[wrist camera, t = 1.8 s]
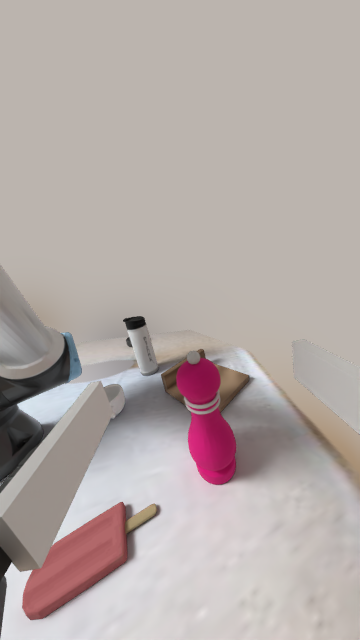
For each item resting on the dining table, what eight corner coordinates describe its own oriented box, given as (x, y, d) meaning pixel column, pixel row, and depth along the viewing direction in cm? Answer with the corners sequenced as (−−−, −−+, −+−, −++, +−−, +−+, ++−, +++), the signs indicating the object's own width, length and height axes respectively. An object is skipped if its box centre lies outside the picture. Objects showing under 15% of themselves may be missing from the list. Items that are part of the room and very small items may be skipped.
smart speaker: (147, 342, 87) (145, 335, 86) (131, 349, 82) (128, 341, 81) (140, 339, 94) (138, 332, 93) (125, 345, 89) (123, 338, 88)
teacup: (96, 410, 44) (89, 393, 43) (124, 395, 48) (119, 380, 46) (99, 437, 36) (90, 418, 34) (133, 417, 39) (126, 399, 38)
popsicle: (159, 530, 20) (8, 635, 16) (162, 538, 20) (16, 642, 16) (151, 482, 25) (34, 552, 20) (153, 489, 25) (40, 559, 21)
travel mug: (141, 368, 61) (125, 317, 56) (158, 364, 61) (144, 312, 56) (139, 378, 55) (120, 321, 50) (158, 373, 55) (142, 316, 50)
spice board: (165, 391, 46) (160, 374, 44) (203, 363, 55) (200, 348, 54) (210, 423, 34) (206, 401, 32) (249, 380, 43) (247, 361, 42)
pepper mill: (213, 503, 22) (183, 375, 17) (185, 457, 28) (156, 354, 23) (249, 465, 25) (233, 348, 20) (217, 432, 31) (198, 335, 26)
